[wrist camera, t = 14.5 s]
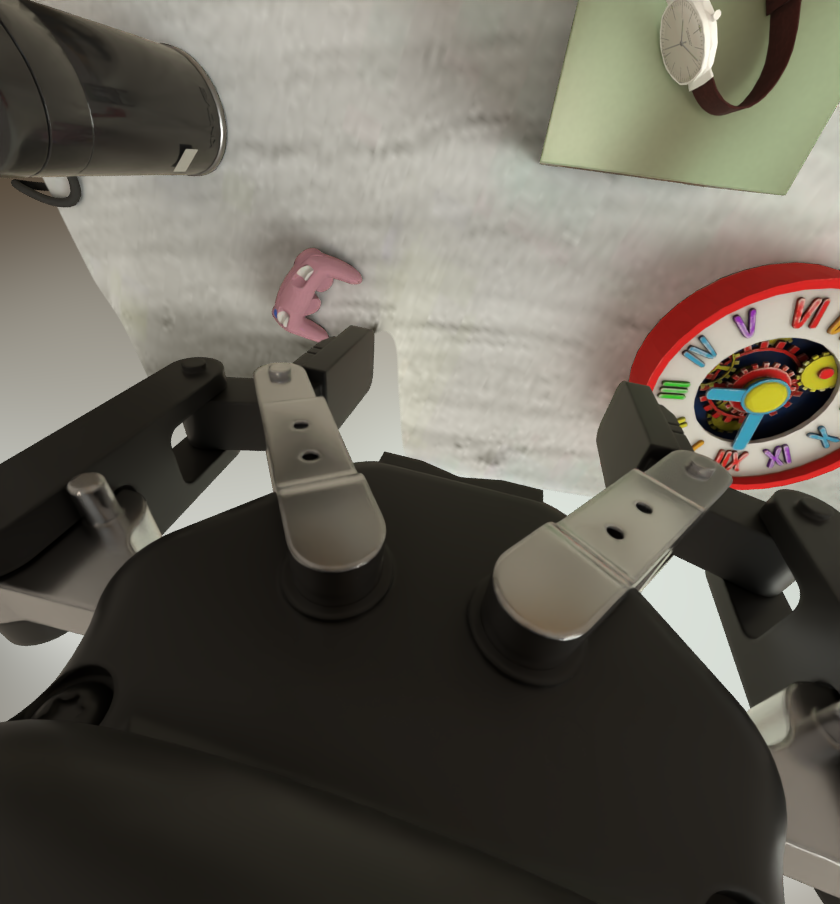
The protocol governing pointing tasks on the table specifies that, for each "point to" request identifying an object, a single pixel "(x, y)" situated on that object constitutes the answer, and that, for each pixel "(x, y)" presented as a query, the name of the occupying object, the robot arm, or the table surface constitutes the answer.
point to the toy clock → (754, 372)
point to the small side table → (692, 98)
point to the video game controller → (309, 291)
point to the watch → (695, 43)
